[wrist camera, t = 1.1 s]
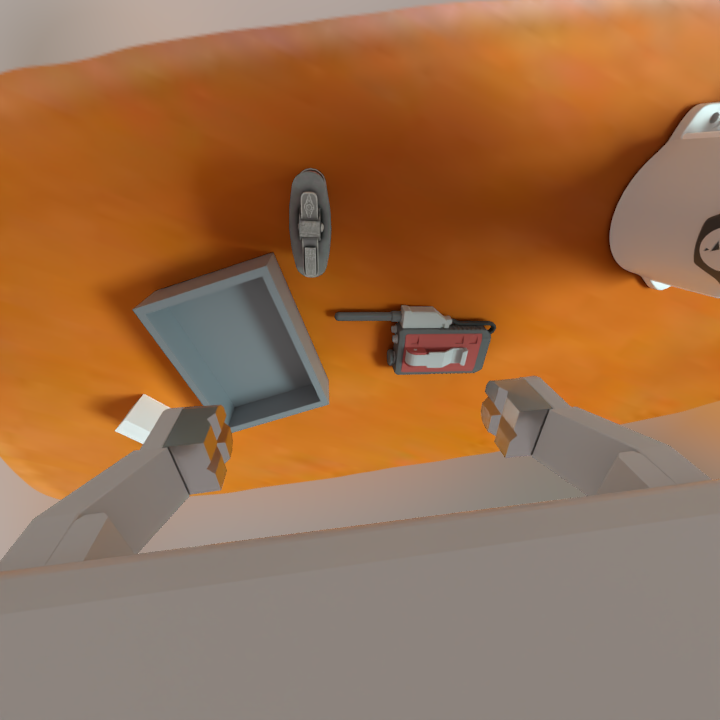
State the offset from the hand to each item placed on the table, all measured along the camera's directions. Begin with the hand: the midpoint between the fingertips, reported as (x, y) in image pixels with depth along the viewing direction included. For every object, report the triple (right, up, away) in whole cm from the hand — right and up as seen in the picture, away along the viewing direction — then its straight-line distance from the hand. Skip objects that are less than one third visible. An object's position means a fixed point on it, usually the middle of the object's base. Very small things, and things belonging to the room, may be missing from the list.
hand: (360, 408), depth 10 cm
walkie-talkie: (+7, +5, +32) cm, 33 cm away
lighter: (-5, +16, +23) cm, 28 cm away
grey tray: (-13, +4, +29) cm, 32 cm away
